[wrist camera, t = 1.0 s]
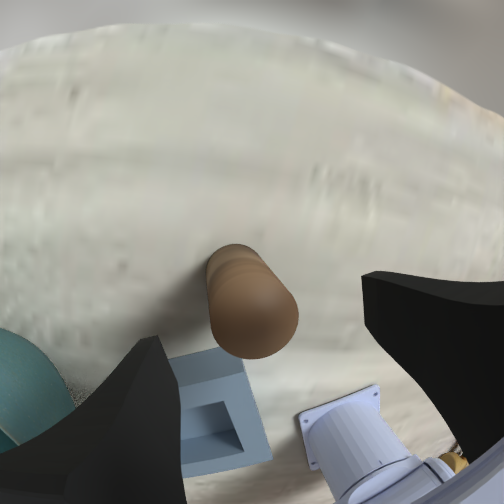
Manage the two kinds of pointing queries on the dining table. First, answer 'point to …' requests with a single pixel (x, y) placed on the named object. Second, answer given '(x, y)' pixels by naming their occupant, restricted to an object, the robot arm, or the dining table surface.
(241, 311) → the peg
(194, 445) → the socket
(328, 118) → the dining table surface
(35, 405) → the teal bowl
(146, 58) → the dining table surface
